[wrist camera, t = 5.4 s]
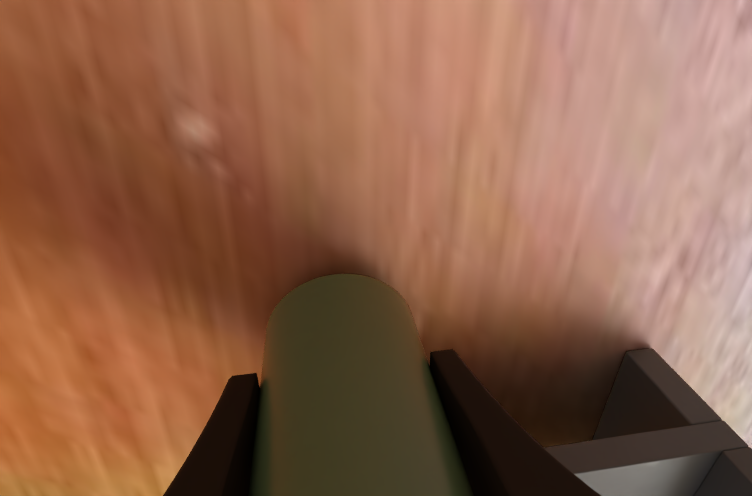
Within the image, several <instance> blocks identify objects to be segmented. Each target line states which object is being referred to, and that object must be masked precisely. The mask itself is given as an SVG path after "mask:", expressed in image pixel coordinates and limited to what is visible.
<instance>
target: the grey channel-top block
mask: <svg viewBox="0 0 752 496" xmlns="http://www.w3.org/2000/svg"><path fill="white" fill-rule="evenodd" d="M544 449H546V450H547V451H548V452H549V453H550V454H551V455H552V456H553V457H554V458H556V459H557V460H558V461H559V462H560V463H561V464H563V465H564V466H565V467H566V468H567V469H568V470H570V471H571V472H572V473H573V474H575V475H576V476H577V477H578V478H579V479H581V480H582V481H583V482H584V483H586V484H587V485H588V486H589V487H591V488H592V489H593V490H594V491H596V492H597V493H598V494H600V495H601V496H752V449H751V448H750V447H748V445H747V444H746V443H745V442H744V441H743V440H742V439H741V438H740V437H739V436H738V435H737V434H736V433H735V432H734V431H733V430H732V429H731V428H730V427H729V425H728V424H727V423H726V422H725V421H722V419H721V418H720V417H719V416H718V415H717V414H716V413H715V412H714V411H713V410H712V409H711V408H710V407H709V406H708V405H707V404H706V402H705V401H704V400H703V399H702V398H701V397H700V396H699V395H698V394H697V393H696V392H695V391H694V390H693V389H692V388H691V387H690V386H689V385H688V384H687V383H686V382H685V381H684V380H683V379H682V378H681V377H680V376H679V375H678V374H677V373H676V372H675V371H674V370H673V369H672V368H671V367H670V366H669V365H668V364H667V363H666V362H665V361H664V360H663V359H662V358H661V357H660V356H659V354H658V353H657V352H656V351H655V350H654V349H652V348H649V349H641V350H633V351H627V352H626V353H625V356H624V358H623V361H622V364H621V366H620V369H619V371H618V374H617V377H616V379H615V382H614V385H613V387H612V390H611V393H610V395H609V398H608V400H607V403H606V406H605V408H604V411H603V414H602V416H601V419H600V421H599V424H598V427H597V429H596V432H595V435H594V437H593V440H591V441H584V442H578V443H571V444H564V445H558V446H551V447H545V448H544Z"/></svg>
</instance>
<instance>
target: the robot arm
mask: <svg viewBox="0 0 752 496" xmlns="http://www.w3.org/2000/svg"><path fill="white" fill-rule="evenodd" d="M430 369H431V372H432V375H433V378H434V381H435V384H436V387H437V390H438V392H439V395H440V398H441V401H442V404H443V407H444V410H445V413H446V416H447V419H448V422H449V425H450V428H451V430H452V433H453V436H454V439H455V442H456V445H457V448H458V451H459V454H460V457H461V460H462V463H463V466H464V468H465V471H466V474H467V477H468V480H469V483H470V486H471V489H472V492H473V495H474V496H601V495H600V494H598V493H597V492H596V491H594V490H593V489H592V488H591V487H589V486H588V485H587V484H586V483H584V482H583V481H582V480H581V479H579V478H578V477H577V476H576V475H575V474H573V473H572V472H571V471H570V470H568V469H567V468H566V467H565V466H564V465H563V464H561V463H560V462H559V461H558V460H557V459H556V458H554V457H553V456H552V455H551V454H550V453H549V452H548V451H547V450H546V449H544V448H543V447H542V446H541V445H540V444H539V443H538V442H537V441H536V440H535V439H534V438H533V437H532V436H531V435H530V434H529V433H528V432H527V431H526V430H525V429H524V428H522V427H521V426H520V425H519V424H518V423H517V421H516V420H515V419H514V418H513V417H512V416H511V415H510V414H509V413H508V412H507V411H506V410H505V409H504V408H503V407H502V406H501V405H500V404H499V403H498V401H497V400H496V399H495V398H494V397H493V396H492V395H491V394H490V393H489V392H488V390H487V389H486V388H485V387H484V386H483V385H482V384H481V382H480V381H479V380H478V379H477V378H476V377H475V375H474V374H473V373H472V372H471V370H470V369H469V368H468V367H467V366H466V364H465V363H464V362H463V361H462V359H461V358H460V357H459V356H458V354H457V353H456V352H455V351H454V350H453V349H450V350H442V351H434V352H430ZM259 392H260V387H259V383H258V378H257V374H256V373H253V374H244V375H236V376H232V377H231V378H230V379H229V380H228V382H227V385H226V387H225V389H224V391H223V393H222V395H221V397H220V399H219V401H218V403H217V405H216V407H215V409H214V411H213V413H212V415H211V417H210V419H209V421H208V422H207V424H206V426H205V428H204V430H203V431H202V433H201V435H200V437H199V438H198V440H197V442H196V444H195V445H194V447H193V449H192V451H191V452H190V454H189V456H188V457H187V459H186V461H185V462H184V464H183V465H182V467H181V469H180V470H179V472H178V473H177V475H176V476H175V478H174V480H173V481H172V483H171V484H170V486H169V487H168V489H167V491H166V492H165V494H164V495H163V496H248V495H249V485H250V476H251V467H252V457H253V448H254V439H255V429H256V420H257V410H258V401H259Z"/></svg>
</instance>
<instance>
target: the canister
mask: <svg viewBox="0 0 752 496" xmlns="http://www.w3.org/2000/svg"><path fill="white" fill-rule="evenodd" d="M248 496H474V495H473V492H472V489H471V486H470V483H469V480H468V477H467V474H466V471H465V468H464V466H463V463H462V460H461V457H460V454H459V451H458V448H457V445H456V442H455V439H454V436H453V433H452V430H451V428H450V425H449V422H448V419H447V416H446V413H445V410H444V407H443V404H442V401H441V398H440V395H439V392H438V390H437V387H436V384H435V381H434V378H433V375H432V372H431V369H430V366H429V363H428V360H427V357H426V354H425V351H424V349H423V346H422V343H421V340H420V337H419V334H418V331H417V328H416V325H415V322H414V319H413V316H412V313H411V311H410V309H409V306H408V304H407V303H406V301H405V300H404V298H403V297H402V296H401V295H400V294H399V293H398V292H397V291H396V290H394V289H393V288H392V287H390V286H389V285H387V284H386V283H384V282H382V281H379V280H377V279H375V278H371V277H368V276H364V275H358V274H333V275H327V276H323V277H319V278H315V279H313V280H310V281H308V282H306V283H304V284H302V285H300V286H298V287H296V288H295V289H293V290H292V291H291V292H289V293H288V294H287V295H286V296H285V297H284V298H283V299H282V300H281V301H280V302H279V303H278V304H277V306H276V307H275V309H274V310H273V312H272V313H271V315H270V318H269V320H268V324H267V328H266V335H265V345H264V354H263V364H262V373H261V382H260V392H259V401H258V410H257V420H256V429H255V439H254V448H253V457H252V467H251V476H250V485H249V495H248Z"/></svg>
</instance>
